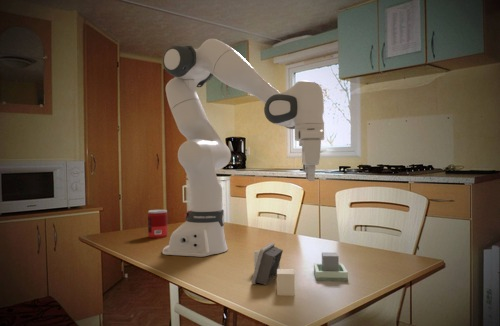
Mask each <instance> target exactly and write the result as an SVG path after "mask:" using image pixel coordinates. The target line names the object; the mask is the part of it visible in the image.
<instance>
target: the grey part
mask: <svg viewBox="0 0 500 326" xmlns="http://www.w3.org/2000/svg"><path fill="white" fill-rule="evenodd" d="M339 261H340V260H339V255H338V252H322V251H321V264H322V271H339V264H340V262H339Z"/></svg>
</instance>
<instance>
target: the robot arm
mask: <svg viewBox="0 0 500 326" xmlns="http://www.w3.org/2000/svg"><path fill="white" fill-rule="evenodd" d="M161 62H162V66H163V68H164V71H166V73H167V74H169V75H170V76H173V78H171V79H170V80H169V81H168V82H166V83H167V84H166V85H165V93H166V94H165V96H166V98H167V99H166V100H167V102H168V106H169V109H170V112H171V115H172V116H173V118H174V121H175V124H176V126H177V129H178V131H179V133H180V134H181V135H183V136H184V137H185V138H186V141H184V142H182V143H181V144H180V146H179V148H178V151H177V160H178V162H179V164H180V165H181V167H183V170H185V174H186V176H187V180H188V184H189V189H190V209H189V210H187V211H186V213H185V214H184V218H185V222H183V223H182V224H180V225H179V226H178V228H175V230H174V231H173V232H172V233H171V234H170V237H169V241H168V245H166V246H165V247H163V249H162V254H163V255H164V256H165V255H166V256H167V255H168V256H169V255H171V256H184V257H185V256H186V257H198V258H199V257H201V258H202V257H208V256H211V255H216V254H221V253H224V252H227V251H228V250H229V249H228V245H227V242H226V241H227V240H226V236H225V230H224V229H225V228H224V226H225V211H224V208H223V187H222V185H221V184H220V182H219V180H218V176H217V172H216V171H219V170H221V169H223V168H224V167H226V166H227V165H229V163H230V161H231V159H232V153H231V150H230V148H229V146H228V145H227V144H225V142H224V141H223V140H222V138H221V137H220V136H219V134H218V132H217V131H216V129H215V128H214V126H213V125H212V124H211V121H210V120H209V117H208V116H207V114H206V111H205V108H204V106H203V105H202V102H201V99H200V98H199V95H198V91H197V88H202V87H203V86H205V84H206V83H207V82H209V81H210V80H211V79H212V78H213V77H215V78H216V79H218V81H220V82H221V83H222V84H225V85H226V86H228V87H230V88H232V89H235V90H238V91H242V92H245V93H246V94H249V95H251V96H253V97H255V98H257V99H258V100H259V101H260V102H262V103H264V108H263V110H264V116H265V118H266V119H267V121H268V122H270V123H271V124H274V125H277V126H279V127H280V126H281V127H285V128H286V129H290V130H294V140H295V141H296V142H299V143H298V145H299V147H301V164H302V165H303V166H304V169H305V179H306V180H308V181H310V182H314V181H315V180H316V166H318V165H319V164H320V160H321V159H320V158H321V147H322V141H323V140H325V122H324V118H323V115H324V112H325V107H324V103H325V102H324V92H323V89H322V87H321V85H320V84H318V83H317V82H315V81H310V80H299V81H297V82H295V83H294V85H293V86H291V87H290V88H288V89H287V90H284V91H282V92H281V91H279V90H278V89H277V88H275V86H273V85H272V84H271V83H269V82H268V81H266V80H265V79H264V78H263V77H262V76H261V74H259V72H258V71H257V70H256V69H255V68H254V67H253V66H252V65H251V64H250V63H249V62H248V61H247V60H246V58H244V57H243V55H241V53H239V52H238V51H237V50H235V49H234V48H233V47H231V46H230V45H228V44H226V42H223V41H222V40H219V39H216V38H208V39H206V40H205V41H203V42H202V44H200V46H199V47H198V48H194V47H193V46H192V45H182V44H175V45H170V46H169V47H168V48H166V49H165V51H164V52H163V55H162V60H161Z"/></svg>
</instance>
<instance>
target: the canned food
mask: <svg viewBox="0 0 500 326" xmlns="http://www.w3.org/2000/svg"><path fill="white" fill-rule="evenodd" d="M147 226H148V227H147V229H148V231H147V235H148V238H150V239H162V238H163V237H164V238H166V237H168V209H150V210H148V211H147Z"/></svg>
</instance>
